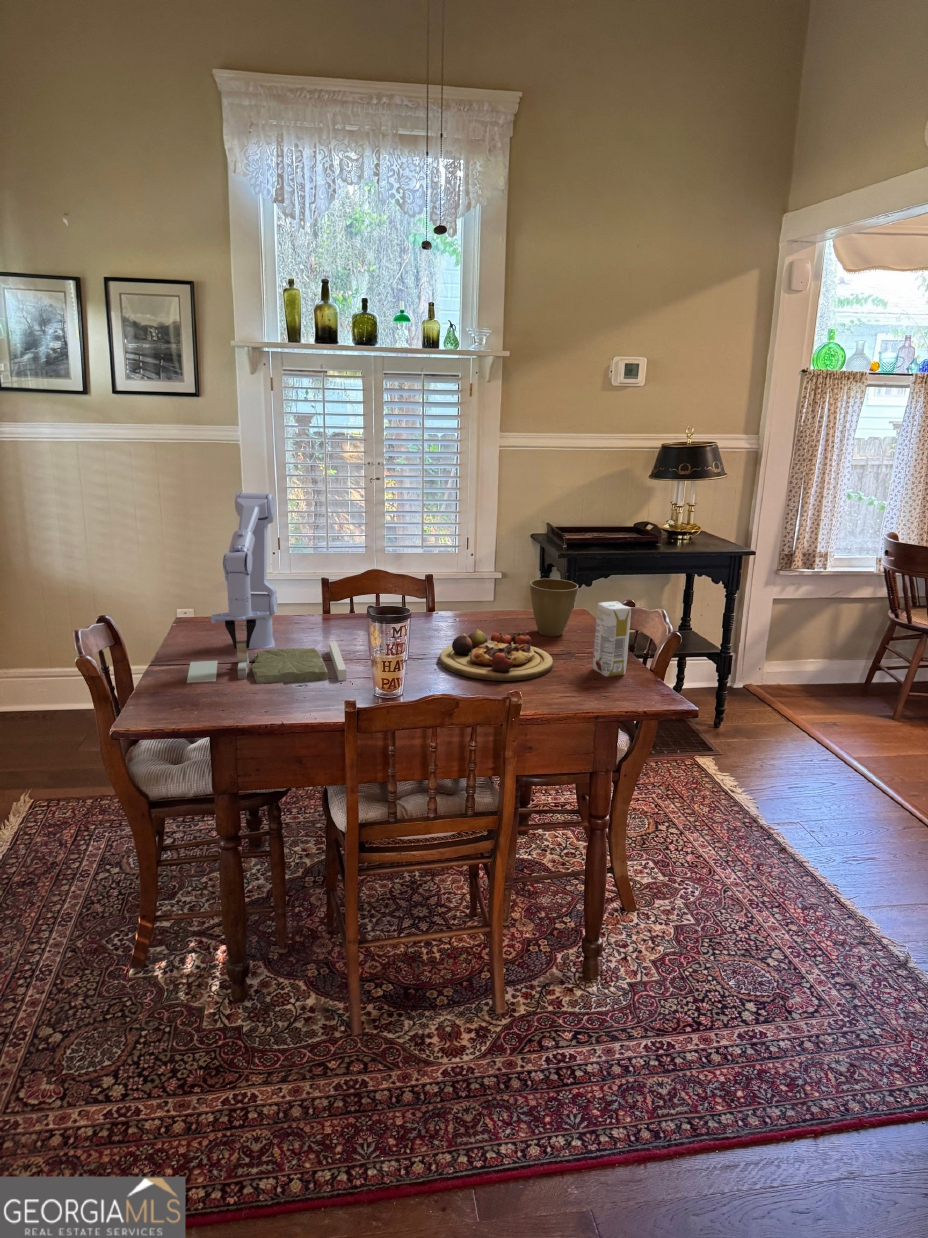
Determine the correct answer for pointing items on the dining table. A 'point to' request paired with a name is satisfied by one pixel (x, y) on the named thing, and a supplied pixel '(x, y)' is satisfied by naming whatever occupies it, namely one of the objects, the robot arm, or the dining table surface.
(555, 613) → the plant pot
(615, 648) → the juice carton
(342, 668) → the rail
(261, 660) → the decorative tile
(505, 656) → the wooden plate with food
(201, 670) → the mat
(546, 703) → the dining table surface
